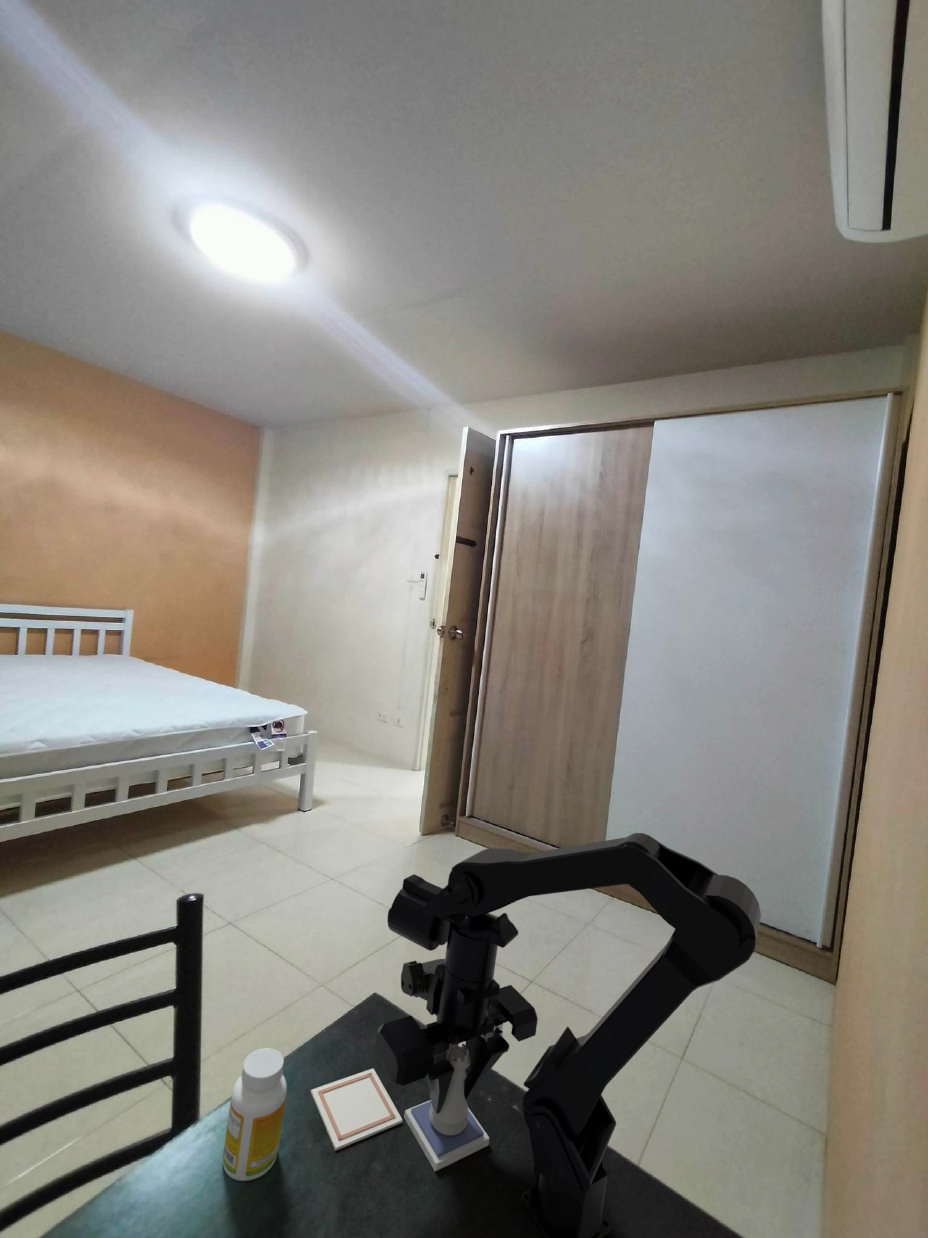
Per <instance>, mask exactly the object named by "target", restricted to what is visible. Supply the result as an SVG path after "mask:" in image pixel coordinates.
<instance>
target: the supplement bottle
mask: <svg viewBox="0 0 928 1238" xmlns="http://www.w3.org/2000/svg"><path fill="white" fill-rule="evenodd" d="M284 1063H285V1060H284V1056H283V1054H282V1053H281V1052H280V1051H279V1050H276V1049H274V1048H269V1047H265V1048H264V1047H263V1048H259V1049H256V1050H254V1051H252V1052H251V1053H249V1054H248V1055H247V1056H246V1058H245V1059H244V1061H243V1064H242V1071H241V1076H240V1077H239V1078H237V1080H236V1082H234V1083H235V1084H234V1085H233V1088H232V1091H231V1096H230V1104H229V1110H228V1116H227V1118H228V1119H227V1124H226V1131H225V1137H224V1145H223V1150H222V1151H223V1152H222V1165H223V1169H224V1171H225V1173H226V1174H227V1176H229V1177H230V1178H232V1179H233V1180H236V1181H238V1182H239V1181H240V1182H247V1181H253V1180H255V1179H259V1178H261V1177H262V1176H263V1175H265V1174H266V1173H268V1172H269V1170H271V1168H272V1167H273V1165H274V1164H275V1162H276V1159H277V1157H278V1153H279V1148H280V1147H279V1146H280V1141H281V1133H282V1127H283V1118H284V1113H285V1105H286V1098H287V1089H288V1086H287V1080H286V1078H285V1075H284V1074H283V1072H284Z"/></svg>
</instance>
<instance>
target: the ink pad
mask: <svg viewBox="0 0 928 1238" xmlns="http://www.w3.org/2000/svg"><path fill="white" fill-rule="evenodd" d="M430 1109H431V1099H430V1100H427V1101H425V1102H423V1103H420V1104H418V1105H415V1106H413V1107H410V1108H408V1109H405V1110H404V1115H403V1118H404V1120H405V1122H406V1124H407V1125H408V1127H409V1130H410V1131H411V1132H412V1134H413V1136H414V1138H415V1140H416V1141H417V1143H418V1144H419V1146H420V1148H421V1150H422V1151H423V1154H424V1156H425V1157H426V1158H427V1160H428V1162H429V1164H430V1165H431V1167H432V1169H433V1171H434V1172H437V1171H439V1170H441V1169H443V1168H445V1167H447V1166H450V1165H452V1164H453V1163H456V1162H457V1161H459V1160H462V1159H463V1158H465V1157H468V1156H470V1155H472V1154H473V1153H476V1152H478V1151H480V1150H481V1149H484V1148H486V1147H488V1146H489V1144H490V1136H489V1135H488V1134H487V1132H486V1131H485V1130H484V1128H483V1127H482V1125H481V1124H480V1122H479V1121H478V1119H477V1118H476V1116H475V1115H474V1113H473V1112H472V1111H471V1110H470V1108H469V1107H468V1112H469V1113H468V1116H467V1117H468V1122H467V1126H466V1128H465V1129H464V1130H463V1131H462V1132H461V1133H459V1134H457V1135H455V1136H445V1135H443V1134H440V1133H439V1132H438V1131H437V1130H435V1129H434V1127H433V1125H432V1123H431V1121H430V1118H429V1111H430Z"/></svg>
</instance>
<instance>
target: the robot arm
mask: <svg viewBox="0 0 928 1238" xmlns="http://www.w3.org/2000/svg"><path fill="white" fill-rule="evenodd" d="M402 881H403V882H402V887H401V889H400V890H399V891H398V892H397V893H396V895H395V898H394V899H393V901H392V903H391V907H390V908H389V909H388V911H387V927H388V928H389V930H390V931H391V932H393V933H395V934H397V935H398V936H400V937H403V938H404V939H406V940H409V941H410V942H412V943H413V944H416V945H418V946H420V947H422V948H423V949H425V950H427V951H434V950H436V949H437V948H438V947H439V946H444V945H446V950H445V956H444V958H437V959H434V960H429V961H426V962H418V961H417V960H412V961H407V962H404V963H403V965H402V970H401V973H400V989H401V991H402V993H403V994H405V995H408V996H409V997H412V998H413V997H414V998H420V999H422V1000H424V1001H426V1008H425V1009H426V1010H427V1012H428V1013H429V1015H430V1016H433V1015H435V1016H436V1021H432V1022H431V1023H427V1024H425V1028H421V1027H420V1026H419V1024H418V1023H417V1021H416V1019H415V1018H414V1017H413V1015H408V1016H405V1017H401V1018H398V1019H395V1020H391V1021H388V1022H386V1023H383V1024H381V1025H379V1026H378V1029H377V1032H376V1036H375V1043H374V1049H375V1051H376V1053H377V1054H378V1056H379V1058H380V1060H381V1061H382V1063H383V1064H384V1066H385V1068H386V1070H387V1071H388V1073H389V1074H390V1077H391V1078H392V1080H393V1081H394V1084H396V1085H399V1086H402V1087H404V1086H406V1085H409V1084H411V1083H415V1082H417V1081H420V1080H422V1079H425V1078H426V1082H427V1083H426V1084H427V1087H428V1092H429V1098H430V1100H431V1104H432V1107H433V1109H434V1111H435V1112H436V1114H437V1113H440V1111H441V1109H442V1106H443V1104H444V1101H445V1098H446V1095H447V1092H448V1089H449V1086H450V1082H451V1080H452V1076H453V1073H454V1070H455V1069H454V1067H453V1066H452V1065H451V1063H450V1062H449V1060H448V1052H449V1050H450V1046H454V1045H455V1044H459V1045H460V1044H463V1043H464V1042H465V1045H466V1049H469V1056H470V1058H471V1063H470V1066H469V1067H468V1068H466V1070H467V1077H466V1078H465V1081H464V1095H465V1098H466V1102H468V1101H469V1100H470V1099H471V1098H472V1096H473V1094H474V1093H475V1091H476V1090H477V1089H478V1087H479V1086H480V1085H481V1083H482V1081H483V1080H484V1078H485V1077H487V1075H488V1073H489V1072H490V1070H492V1068H493V1067H494V1066H495V1064H497V1062H498V1061H499V1060H500V1058H501V1057H502V1056H503V1055H504V1054H505V1053H507V1052H508V1051H509V1049H510V1043H508V1041H507V1040H506V1039H505V1038H504V1037H503V1035H504V1031H503V1027H504V1024H505V1023H509V1024H510V1025H511V1035H512V1036H513V1037H514V1038H515V1039H516V1040H517V1042H522V1041H524V1040H527V1039H530V1038H532V1037H535V1036H536V1035H537V1034H536V1033H537V1026H538V1014H537V1011H536V1008H535V1007H534V1006H533V1005H532V1004H531V1003H530V1002H529V1001H528V1000H527V999H526V998H525V997H524V996H523V995H522V994H521V993H520V992H519V990H517V989H516V988H515V987H514V986H513V985H512V984H509V985H506V986H503V987H501V985H500V984H499V982H497V981H496V980H495V979H494V978H495V977H494V975H495V969H496V962H497V953H498V947H500V948H501V949H502V948H503V949H504V948H505V947H506V946H507V945H509V944H510V943H511V942H512V941H513V940H514V939H515V938H516V937H517V936H518V935H519V930H518V928H517V927H516V925H515V924H514V923H513V922H512V921H511V920H510V918H509V916H508V914H507V913H506V912H503V913H502V914H500V915H495V914H492V913H493V912H495V911H497V910H500V909H503V908H505V907H508V906H509V905H512V904H514V903H516V902H517V901H520V900H523V899H525V898H528V897H535V896H544V895H550V894H559V893H567V892H575V891H582V890H588V889H596V888H604V887H607V888H608V887H613V886H621V885H628V886H630V887H631V888H633V889H634V890H635V891H636V892H637V893H639V894H640V895H641V896H642V897H643V899H644V900H645V901H646V902H648V904H649V905H650V906H651V907H652V908H653V909H654V910H655V912H657V914H658V915H659V917H661V918H662V920H664V922H666V923H667V924H668V925H670V926H671V927H672V928H674V930H673V932H672V934H671V936H670V938H669V939H668V941H667V943H666V944H665V945H664V946H663V947H662V949H660V951H659V952H658V953H657V954H656V955H655V957H654V958H653V959H652V960H651V961H650V962H649V964H648V965H647V966H645V968H644V969H643V970H642V971H641V973H640V974H639V975H638V976H637V977H636V978H635V980H633V982H632V983H631V984H630V985H629V986H628V987H627V989H626V990H624V992H623V993H622V994H621V996H619V998H618V999H617V1000H616V1001H615V1002H614V1004H613V1005H611V1007H610V1008H609V1010H608V1011H606V1012H605V1013H604V1015H603V1016H602V1017H601V1018H600V1019H599V1020H598V1022H597V1023H596V1024H595V1025H594V1026H593V1027H592V1028H591V1030H590V1031H589V1032H588V1033H586V1034H584V1035H581V1036H579V1037H576V1036H575V1035H574V1033H573V1031H572V1030H571V1028H570V1027H569V1026H568V1025H567V1026H566V1027H565V1029H564V1031H563V1032H562V1033H561V1035H560V1036H559V1038H558V1040H557V1041H556V1042H555V1044H552V1045H550V1046H548V1047H547V1049H546V1050H545V1051H544V1053H543V1054H542V1056H541V1057H540V1059H539V1060H538V1062H537V1063H536V1065H535V1066H534V1067H533V1069H532V1071H531V1072H530V1073H529V1075H528V1076H527V1078H525V1081H524V1082H523V1086H524V1087H525V1088H527V1090H526V1092H525V1093H524V1096H523V1097H522V1102H521V1109H522V1110H523V1111H522V1113H523V1118H524V1120H525V1123H526V1127H527V1128H528V1130H529V1131H528V1132H529V1136H530V1137H529V1138H530V1144H531V1151H532V1157H533V1163H534V1166H533V1171H532V1177H531V1178H532V1180H531V1183H532V1184H533V1186H532V1187H530V1188H528V1189H527V1190H525V1191H524V1192H522V1193H521V1198H520V1202H521V1203H522V1205H523V1206H524V1208H525V1209H526V1212H528V1213H529V1216H530V1217H531V1218H532V1219H533V1221H534V1223H535V1224H536V1226H537V1227H538V1229H539V1230H540V1231H541V1233H542V1235H543V1236H544V1237H545V1238H603V1237H605V1236H606V1235H608V1234H609V1233H610V1232H609V1231H611V1223H610V1222H609V1220H608V1219H607V1218H606V1216H605V1215H604V1214H603V1208H604V1201H605V1194H606V1186H607V1182H608V1181H607V1180H608V1172H607V1171H606V1169H605V1168H604V1167H603V1158H604V1155H605V1152H606V1149H607V1147H608V1145H609V1142H610V1140H611V1138H612V1135H613V1133H614V1131H615V1129H616V1126H617V1122H616V1121H617V1120H616V1119H615V1117H614V1115H613V1113H612V1112H611V1109H610V1108H609V1107H608V1104H607V1103H606V1101H605V1099H604V1097H603V1095H602V1094H603V1092H604V1091H605V1089H606V1087H607V1085H608V1084H609V1083H611V1081H613V1079H614V1078H615V1076H617V1075H618V1073H620V1072H621V1070H622V1069H623V1068H624V1067H625V1066H626V1065H627V1064H628V1063H629V1061H631V1060H632V1058H633V1057H634V1056H635V1055H636V1054H637V1053H638V1051H640V1050H641V1048H642V1047H643V1046H644V1045H645V1044H646V1043H647V1042H648V1041H649V1040H650V1039H651V1037H653V1035H654V1034H655V1033H657V1031H658V1030H659V1029H660V1028H661V1027H662V1026H663V1025H664V1023H665V1022H666V1021H667V1020H668V1019H669V1018H670V1017H671V1016H672V1014H674V1013H675V1012H676V1010H677V1009H678V1008H679V1007H680V1006H681V1005H682V1004H683V1003H684V1002H685V1000H687V998H688V997H689V996H690V995H691V994H692V993H693V992H694V991H695V990H697V989H699V988H701V987H704V986H707V985H710V984H713V983H715V982H718V981H720V980H721V979H723V978H725V977H727V975H730V974H731V973H732V972H733V971H735V970H736V969H738V968H740V967H741V966H742V965H743V966H744V964H746V963H747V962H748V961H749V960H750V958H752V955H753V954H754V952H755V948H756V943H757V938H758V933H759V928H760V921H761V916H762V913H761V908H760V903H759V901H758V899H757V897H756V896H755V893H754V892H753V891H752V890H751V888H749V887H748V885H747V884H745V883H744V882H742V881H741V880H739V879H738V878H737V877H736V878H735V877H733V876H729V875H726V874H718V873H717V872H715V871H714V870H712V869H711V868H710V867H708V866H706V865H704V864H703V863H702V862H700V861H698V860H696V859H693V858H691V857H689V856H687V855H684V854H683V853H681V852H678V851H677V850H674V849H671V848H670V847H667V846H666V845H664V844H663V843H661V842H660V841H659V840H657V839H655V838H654V837H652V836H651V835H649V834H646V833H644V832H633V833H632V834H630V835H628V836H626V837H619V838H614V839H609V840H601V841H596V842H591V843H590V842H589V843H585V844H583V843H582V844H577V845H572V846H566V847H559V848H555V849H548V850H541V851H535V852H524V851H520V850H516V849H512V848H492V847H491V848H485V849H482V850H481V851H479V852H477V853H475V854H473V855H471V856H469V857H467V858H466V859H464V860H462V861H460V862H458V863H457V864H455V865H453V866H452V867H451V871H450V872H449V874H448V880H447V885H446V886H445V887H440V886H438V885H436V884H433V883H432V882H430V881H426V879H424V878H422V877H421V876H419V875H417V874H415V873H414V874H411V875H409V876H407V877H405V878H404V879H403V880H402Z"/></svg>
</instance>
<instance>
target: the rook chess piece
mask: <svg viewBox="0 0 928 1238" xmlns="http://www.w3.org/2000/svg"><path fill="white" fill-rule="evenodd" d="M465 1044H466V1043H465ZM465 1044H464V1043H461V1046H460V1043H459V1044H455V1045H453V1046H450V1050H449V1052H448V1060H449V1062H450V1063H451V1065H452V1066H453V1067H454V1069H455V1070H454V1073H453V1076H452V1080H451V1082H450V1086H449V1089H448V1092H447V1095H446V1098H445V1101H444V1104H443V1106H442V1109H441V1111H440V1113H437V1114H436V1112H435V1111H434V1109H433V1107H432V1104H431V1109H430V1111H429V1118H430V1121H431V1123H432V1125H433V1127H434V1129H435V1130H437V1131H438V1132H439V1133H440V1134H443V1135H445V1136H455V1135H457V1134H459V1133H461V1132H462V1131H463V1130H464V1129H465V1128H466V1126H467V1122H468V1117H467V1116H468V1113H469V1112H468V1108H469V1107H468V1105H469V1104H468V1101H466V1098H465V1095H464V1081H465V1078H466V1077H467V1070H466V1068H468V1067H469V1066H470V1063H471V1058H470V1056H469V1049H466V1045H465Z"/></svg>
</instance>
